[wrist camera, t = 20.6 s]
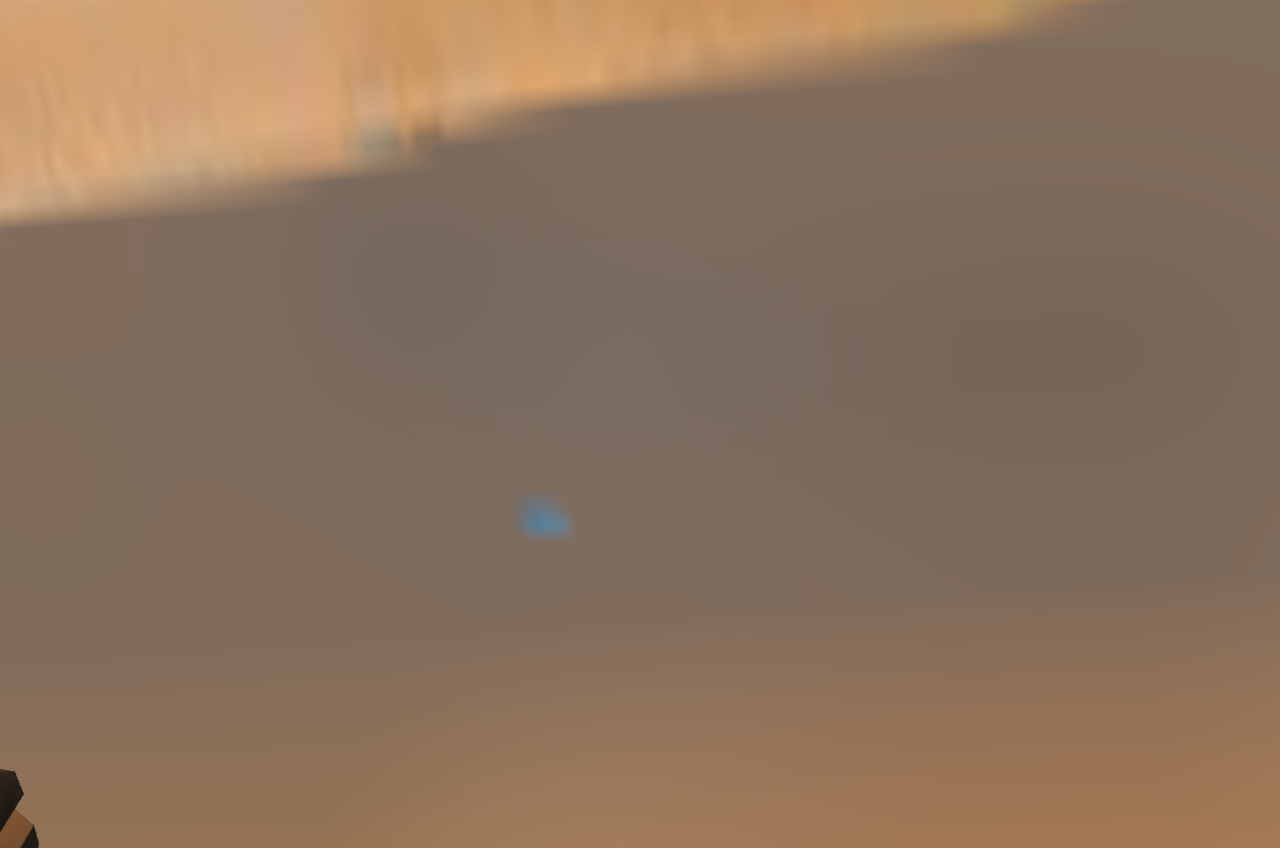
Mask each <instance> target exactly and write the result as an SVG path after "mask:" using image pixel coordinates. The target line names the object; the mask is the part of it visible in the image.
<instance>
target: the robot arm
mask: <svg viewBox="0 0 1280 848" xmlns="http://www.w3.org/2000/svg"><path fill="white" fill-rule="evenodd" d="M23 795H24V792H23V790H22V787H21V785H20V782H19V780H18V778H17V775H16V773H15V771H11V770H5V769H0V848H39V840H38V837H37V833H36V830H35V827H34V824H32V823H31V822H30V821H29V820H28V819H27V818H25V817H24V816H23V815H22V814H21V813H19V812H18V811H17V810H16V809H15V808H16V807H17V805H18V803H19V802H20V800H21V798H22V797H23Z"/></svg>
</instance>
